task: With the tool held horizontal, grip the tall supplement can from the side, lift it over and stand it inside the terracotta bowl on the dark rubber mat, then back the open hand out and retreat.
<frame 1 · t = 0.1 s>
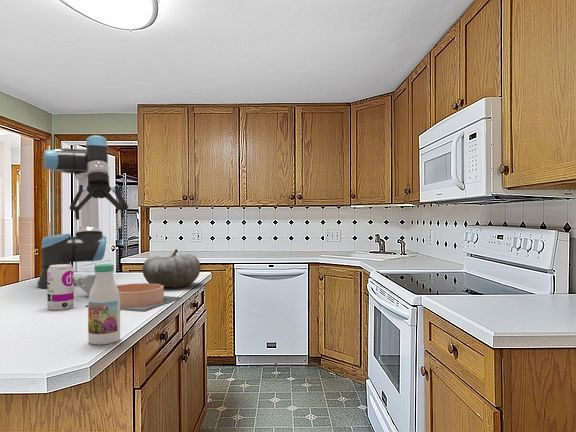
hand: (100, 227, 168), 28 cm above the countertop, fingers open, 13 cm apart
milk bottle: (104, 341, 118), on the countertop
bowl: (135, 302, 168), on the countertop
teacup: (95, 296, 182), on the countertop
gourd: (171, 287, 204), on the countertop
supplement can: (60, 308, 158), on the countertop
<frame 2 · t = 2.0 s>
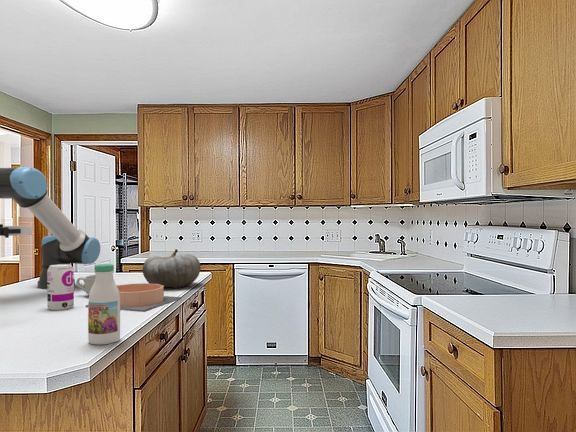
hand: (28, 230, 152), 27 cm above the countertop, fingers open, 13 cm apart
nothing on the countertop moved.
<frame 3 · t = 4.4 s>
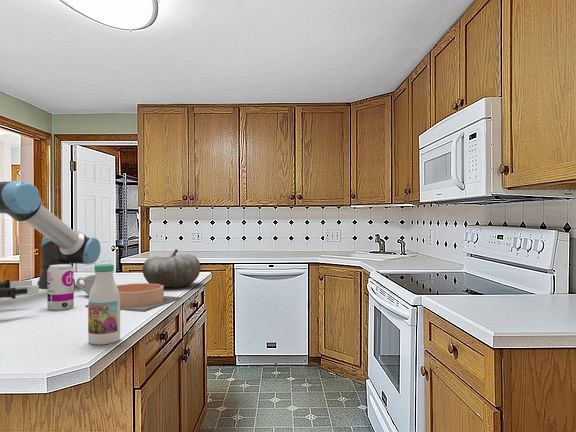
hand: (35, 286, 153), 8 cm above the countertop, fingers open, 13 cm apart
nothing on the countertop moved.
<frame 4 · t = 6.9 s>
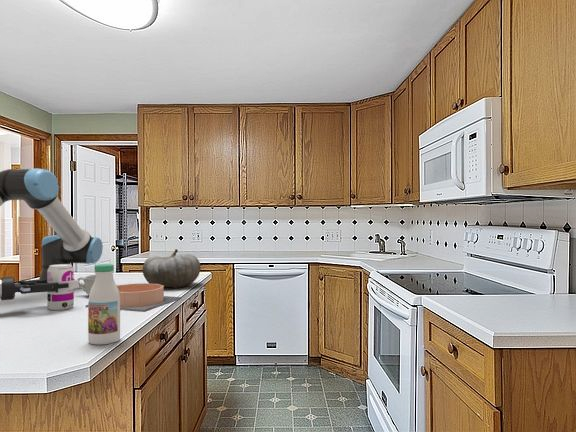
hand: (75, 282, 161), 9 cm above the countertop, fingers closed on supplement can, 8 cm apart
supplement can: (60, 308, 158), on the countertop, touching gripper
everything else where it was.
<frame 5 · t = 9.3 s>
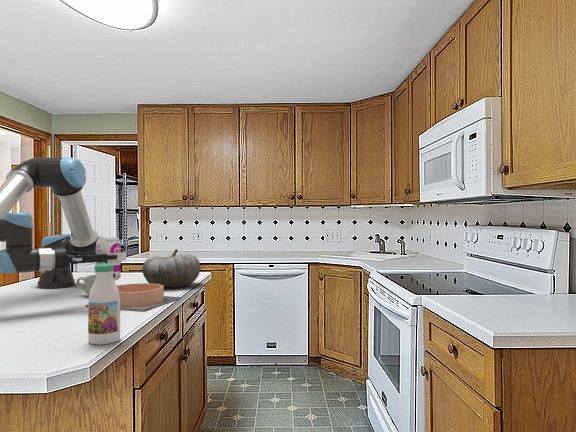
hand: (122, 255, 165), 18 cm above the countertop, fingers closed on supplement can, 8 cm apart
supplement can: (108, 280, 163), point 9 cm above the countertop, touching gripper
everything else where it was.
when the fingers open (12 cm above the countertop, at t = 11.9 s): supplement can drops 1 cm, resting on bowl.
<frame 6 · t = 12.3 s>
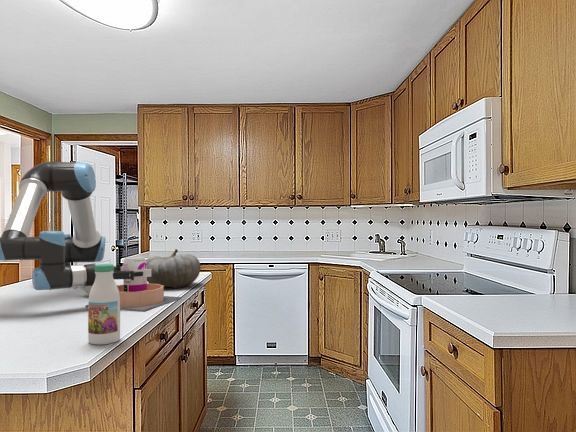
hand: (144, 270, 170), 12 cm above the countertop, fingers open, 13 cm apart
supplement can: (135, 298, 168), point 1 cm above the countertop, touching bowl
everything else where it was.
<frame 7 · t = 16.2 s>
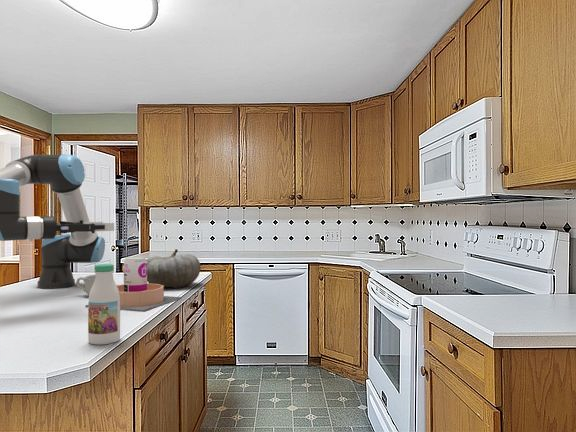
hand: (108, 226, 162), 29 cm above the countertop, fingers open, 13 cm apart
nothing on the countertop moved.
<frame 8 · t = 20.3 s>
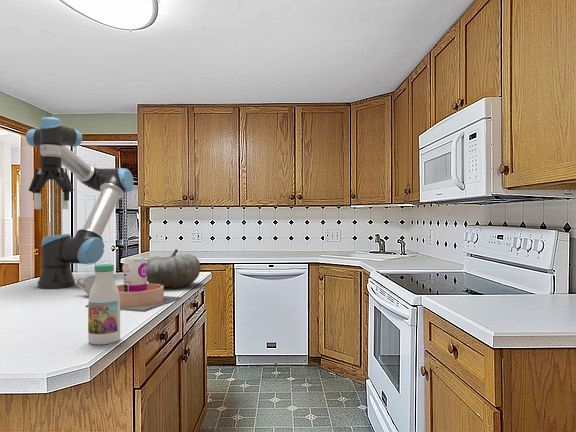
hand: (51, 209, 183), 35 cm above the countertop, fingers open, 13 cm apart
nothing on the countertop moved.
at the end: supplement can inside the target area on the bowl (0.1 cm from its centre), point 1.4 cm above the bowl's base; supplement can tilted 0°; the gripper is holding nothing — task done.
